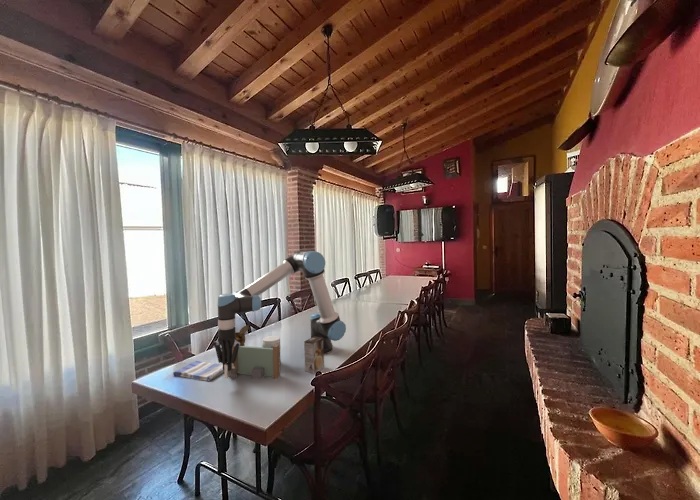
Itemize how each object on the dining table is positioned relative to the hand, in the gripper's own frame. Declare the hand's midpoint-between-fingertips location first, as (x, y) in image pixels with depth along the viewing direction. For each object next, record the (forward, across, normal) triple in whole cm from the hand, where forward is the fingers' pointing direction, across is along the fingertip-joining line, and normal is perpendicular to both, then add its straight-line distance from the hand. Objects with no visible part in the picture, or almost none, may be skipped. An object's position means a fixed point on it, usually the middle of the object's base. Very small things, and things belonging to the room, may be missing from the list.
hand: (227, 377), depth 142 cm
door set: (+4, -7, -12) cm, 15 cm away
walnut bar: (0, +1, -5) cm, 5 cm away
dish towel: (+6, +22, -14) cm, 26 cm away
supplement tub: (+5, -11, -26) cm, 29 cm away
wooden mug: (+5, +15, -41) cm, 44 cm away
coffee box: (+4, -36, -24) cm, 43 cm away
